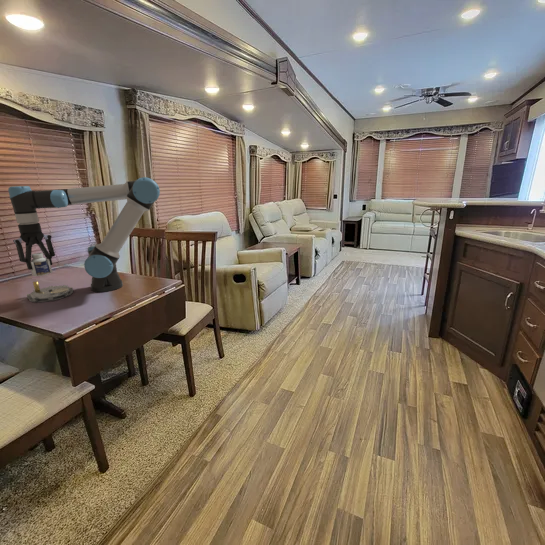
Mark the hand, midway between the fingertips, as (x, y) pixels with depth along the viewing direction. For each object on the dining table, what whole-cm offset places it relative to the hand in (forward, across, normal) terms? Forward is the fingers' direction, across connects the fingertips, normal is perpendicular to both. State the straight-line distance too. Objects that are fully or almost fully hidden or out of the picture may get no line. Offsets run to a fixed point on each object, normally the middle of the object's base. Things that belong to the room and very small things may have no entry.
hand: (42, 274), depth 134 cm
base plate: (+14, -5, -10) cm, 18 cm away
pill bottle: (+1, 0, 0) cm, 1 cm away
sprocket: (+14, -5, -10) cm, 18 cm away
